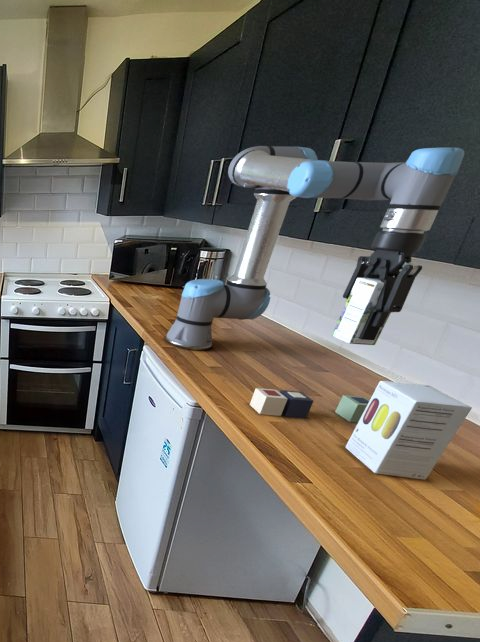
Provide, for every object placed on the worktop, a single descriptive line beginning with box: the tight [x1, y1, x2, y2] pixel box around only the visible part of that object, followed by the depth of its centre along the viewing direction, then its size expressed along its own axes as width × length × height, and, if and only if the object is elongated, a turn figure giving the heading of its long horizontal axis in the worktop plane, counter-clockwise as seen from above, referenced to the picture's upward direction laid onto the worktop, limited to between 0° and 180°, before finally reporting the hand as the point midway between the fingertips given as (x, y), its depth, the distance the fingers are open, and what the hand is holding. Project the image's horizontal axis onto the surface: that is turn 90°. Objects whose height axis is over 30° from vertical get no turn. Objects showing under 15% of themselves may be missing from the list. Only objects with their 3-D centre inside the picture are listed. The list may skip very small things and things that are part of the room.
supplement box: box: [345, 380, 473, 480], centre depth 81 cm, size 10×9×17 cm
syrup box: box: [331, 278, 391, 346], centre depth 92 cm, size 6×6×14 cm
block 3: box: [334, 394, 370, 424], centre depth 100 cm, size 5×5×5 cm
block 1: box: [249, 387, 287, 417], centre depth 102 cm, size 5×5×5 cm
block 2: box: [279, 389, 314, 419], centre depth 102 cm, size 5×5×5 cm
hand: (355, 334), depth 94 cm, fingers closed on syrup box, 6 cm apart
